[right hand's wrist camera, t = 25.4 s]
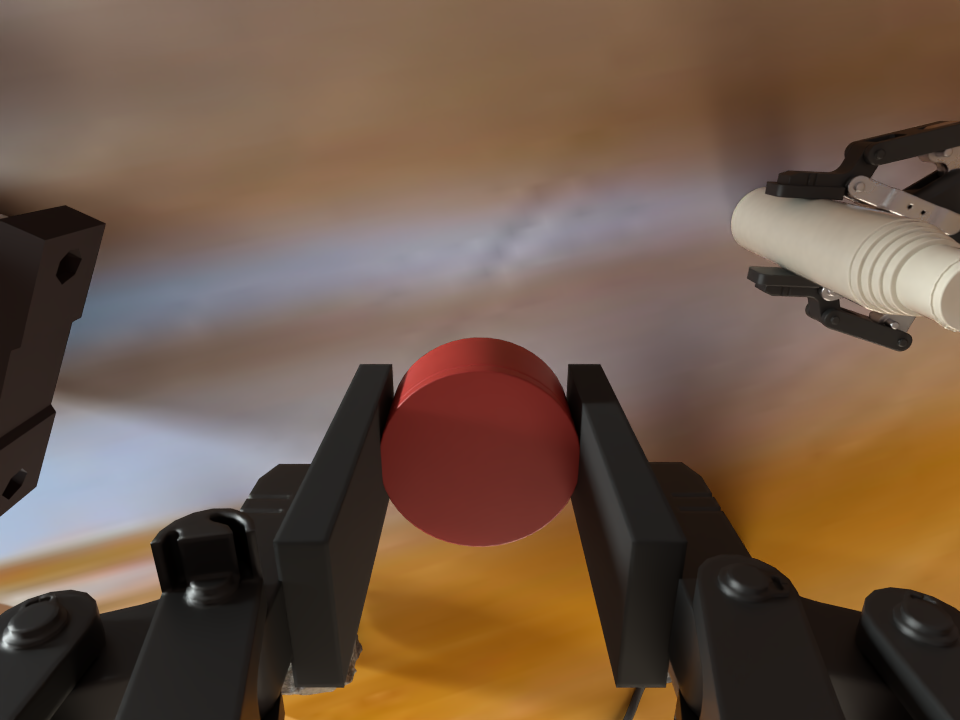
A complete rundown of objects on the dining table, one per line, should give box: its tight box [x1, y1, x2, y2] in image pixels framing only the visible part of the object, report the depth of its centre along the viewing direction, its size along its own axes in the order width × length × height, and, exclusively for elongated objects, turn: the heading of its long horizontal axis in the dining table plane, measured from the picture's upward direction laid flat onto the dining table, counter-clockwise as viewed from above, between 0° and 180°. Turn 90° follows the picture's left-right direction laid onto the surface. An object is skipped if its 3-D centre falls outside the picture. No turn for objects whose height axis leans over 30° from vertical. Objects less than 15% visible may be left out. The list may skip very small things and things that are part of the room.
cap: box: [380, 338, 580, 547], centre depth 14 cm, size 4×4×2 cm
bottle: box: [731, 187, 960, 332], centre depth 33 cm, size 4×4×20 cm
